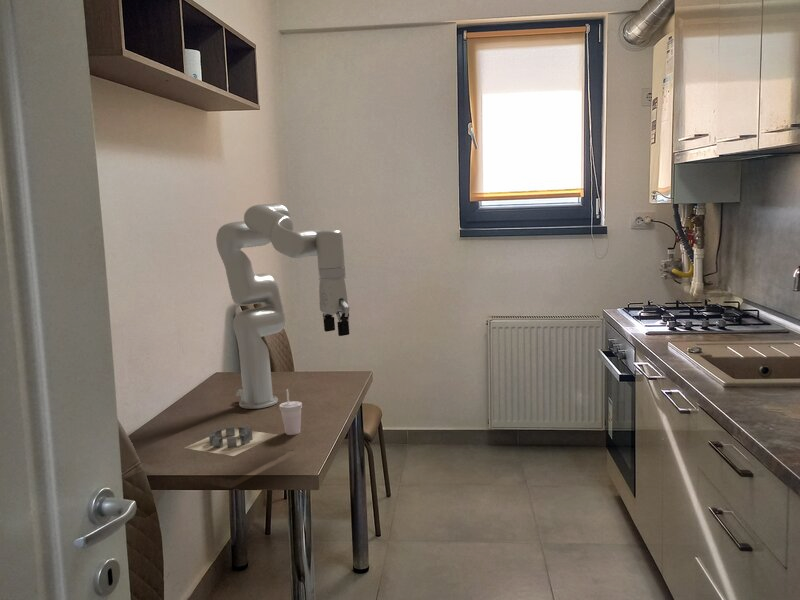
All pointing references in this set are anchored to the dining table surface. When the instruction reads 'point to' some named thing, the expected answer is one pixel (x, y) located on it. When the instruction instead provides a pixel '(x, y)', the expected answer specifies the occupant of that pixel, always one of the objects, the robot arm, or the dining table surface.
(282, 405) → the smoothie
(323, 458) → the dining table surface
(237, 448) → the socket plate
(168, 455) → the dining table surface
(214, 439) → the grey blocks
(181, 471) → the dining table surface
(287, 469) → the dining table surface
